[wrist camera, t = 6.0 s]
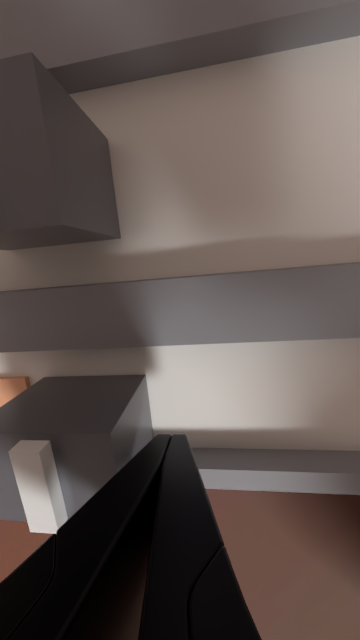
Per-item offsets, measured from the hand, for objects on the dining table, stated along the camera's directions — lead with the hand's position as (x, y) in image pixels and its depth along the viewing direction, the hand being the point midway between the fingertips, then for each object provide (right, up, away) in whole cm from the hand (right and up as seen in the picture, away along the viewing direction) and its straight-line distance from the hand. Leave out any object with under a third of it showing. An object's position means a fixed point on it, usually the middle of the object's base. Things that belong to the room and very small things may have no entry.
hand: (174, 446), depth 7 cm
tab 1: (-4, +7, +1) cm, 8 cm away
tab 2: (-3, 0, +2) cm, 4 cm away
